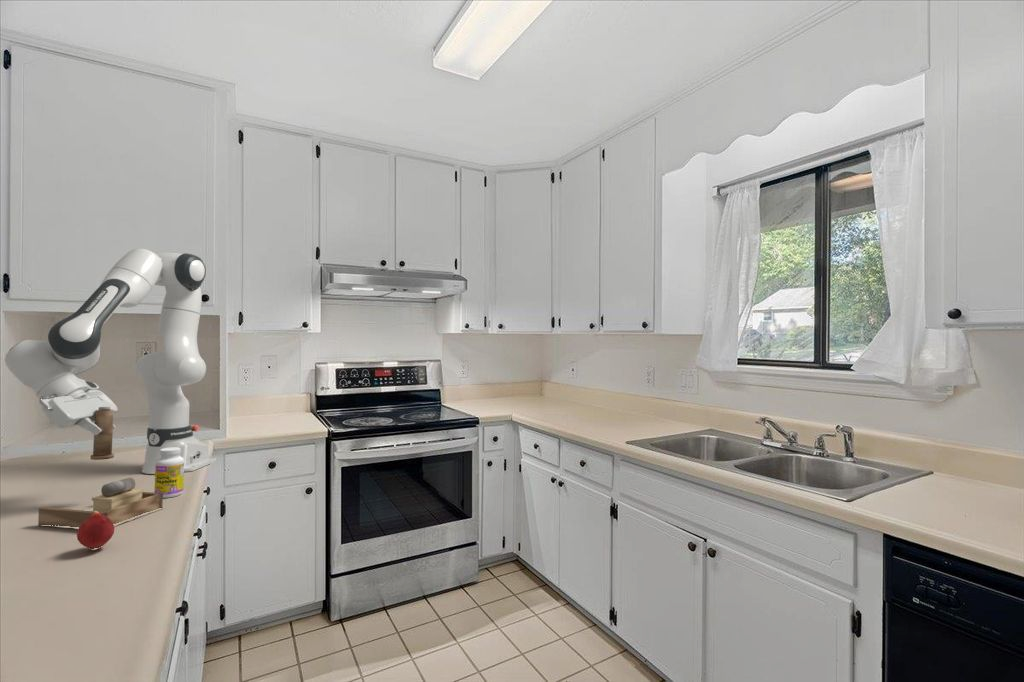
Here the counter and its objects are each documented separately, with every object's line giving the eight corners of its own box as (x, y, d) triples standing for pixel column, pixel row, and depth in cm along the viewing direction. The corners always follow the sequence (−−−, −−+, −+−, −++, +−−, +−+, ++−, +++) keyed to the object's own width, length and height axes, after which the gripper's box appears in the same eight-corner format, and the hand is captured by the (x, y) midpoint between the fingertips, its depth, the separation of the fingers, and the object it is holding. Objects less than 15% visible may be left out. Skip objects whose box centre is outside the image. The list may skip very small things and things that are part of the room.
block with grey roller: (124, 510, 126) (125, 475, 126) (143, 511, 125) (144, 477, 125) (91, 521, 117) (92, 484, 118) (111, 523, 117) (112, 486, 117)
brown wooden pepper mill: (103, 455, 135) (105, 405, 135) (118, 456, 134) (120, 406, 134) (85, 459, 130) (87, 407, 130) (101, 460, 129) (103, 408, 129)
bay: (105, 504, 131) (105, 489, 131) (162, 509, 128) (162, 493, 128) (38, 526, 115) (38, 508, 115) (101, 531, 113) (102, 513, 113)
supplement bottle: (150, 499, 136) (151, 451, 136) (160, 492, 142) (161, 446, 142) (178, 497, 138) (179, 450, 138) (186, 491, 144) (188, 446, 144)
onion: (109, 542, 107) (110, 504, 107) (117, 549, 103) (118, 510, 103) (73, 550, 102) (74, 511, 103) (80, 558, 99) (81, 517, 99)
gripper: (46, 388, 121) (90, 429, 122) (99, 382, 141) (137, 417, 142) (23, 406, 120) (69, 447, 121) (80, 398, 140) (118, 433, 141)
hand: (106, 431), depth 132 cm, fingers closed on brown wooden pepper mill, 4 cm apart
